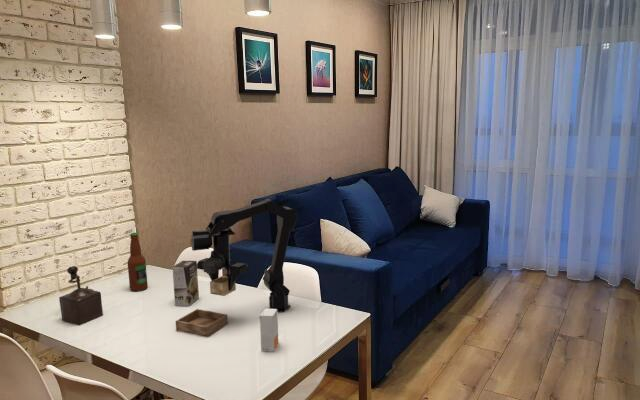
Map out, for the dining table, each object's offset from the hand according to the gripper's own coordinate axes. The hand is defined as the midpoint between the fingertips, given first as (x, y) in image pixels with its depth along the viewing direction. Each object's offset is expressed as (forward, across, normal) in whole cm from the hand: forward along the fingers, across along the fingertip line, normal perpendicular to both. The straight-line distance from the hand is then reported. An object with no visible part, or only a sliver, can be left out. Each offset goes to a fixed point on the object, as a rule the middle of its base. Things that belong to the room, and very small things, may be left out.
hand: (223, 289), depth 175 cm
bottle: (+12, -54, +12) cm, 57 cm away
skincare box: (+12, +27, -12) cm, 32 cm away
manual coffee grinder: (+13, -53, -19) cm, 58 cm away
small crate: (+1, 0, 0) cm, 1 cm away
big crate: (+12, -3, -9) cm, 15 cm away
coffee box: (+12, -24, +8) cm, 28 cm away
